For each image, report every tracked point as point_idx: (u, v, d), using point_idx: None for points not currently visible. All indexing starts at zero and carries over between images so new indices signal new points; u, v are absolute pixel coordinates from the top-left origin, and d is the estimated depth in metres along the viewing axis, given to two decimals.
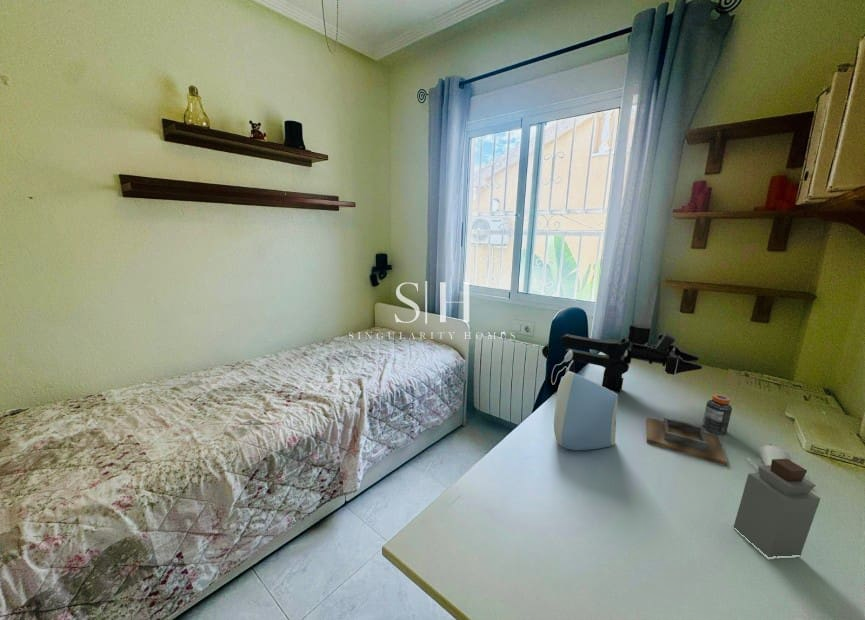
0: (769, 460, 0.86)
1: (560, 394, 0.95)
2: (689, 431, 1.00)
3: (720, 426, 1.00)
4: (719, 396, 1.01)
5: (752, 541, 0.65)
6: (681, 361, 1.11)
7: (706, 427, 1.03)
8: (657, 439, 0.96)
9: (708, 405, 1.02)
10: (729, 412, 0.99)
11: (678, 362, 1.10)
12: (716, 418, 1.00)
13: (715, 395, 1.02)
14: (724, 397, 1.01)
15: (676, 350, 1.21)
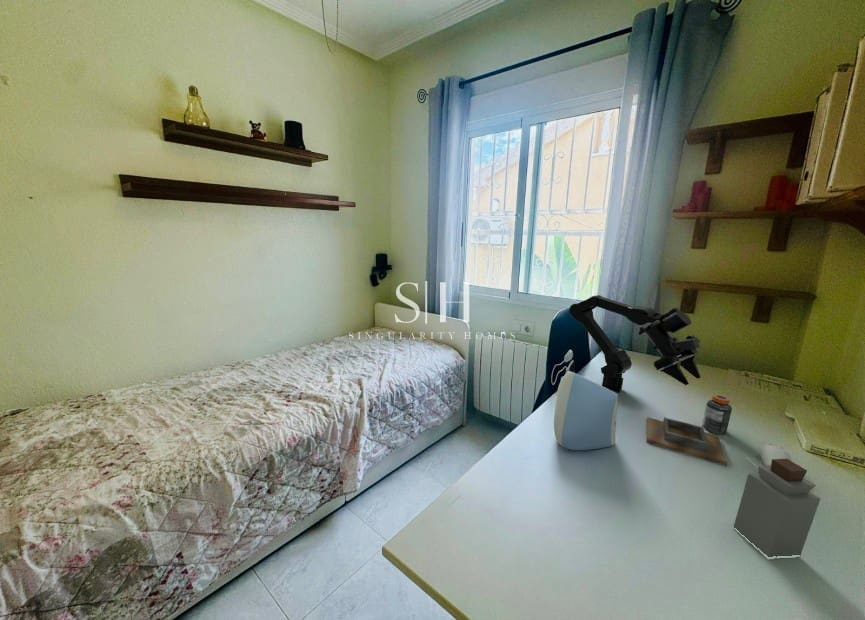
0: (769, 460, 0.86)
1: (560, 394, 0.95)
2: (689, 431, 1.00)
3: (720, 426, 1.00)
4: (719, 396, 1.01)
5: (752, 541, 0.65)
6: (676, 367, 1.05)
7: (706, 427, 1.03)
8: (657, 439, 0.96)
9: (708, 405, 1.02)
10: (729, 412, 0.99)
11: (671, 365, 1.04)
12: (716, 418, 1.00)
13: (715, 395, 1.02)
14: (724, 397, 1.01)
15: (690, 358, 1.11)
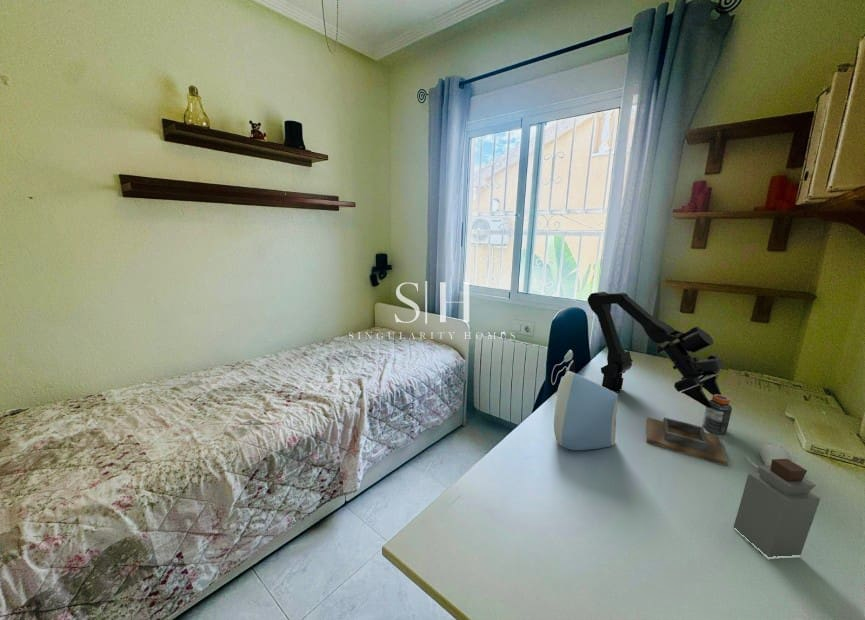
0: (769, 459, 0.86)
1: (560, 394, 0.95)
2: (689, 431, 1.00)
3: (720, 426, 1.00)
4: (719, 396, 1.01)
5: (752, 541, 0.65)
6: (698, 389, 1.00)
7: (706, 427, 1.03)
8: (657, 439, 0.96)
9: None
10: (729, 412, 0.99)
11: (693, 387, 1.00)
12: (716, 418, 1.00)
13: (715, 395, 1.02)
14: (724, 397, 1.01)
15: (712, 378, 1.07)
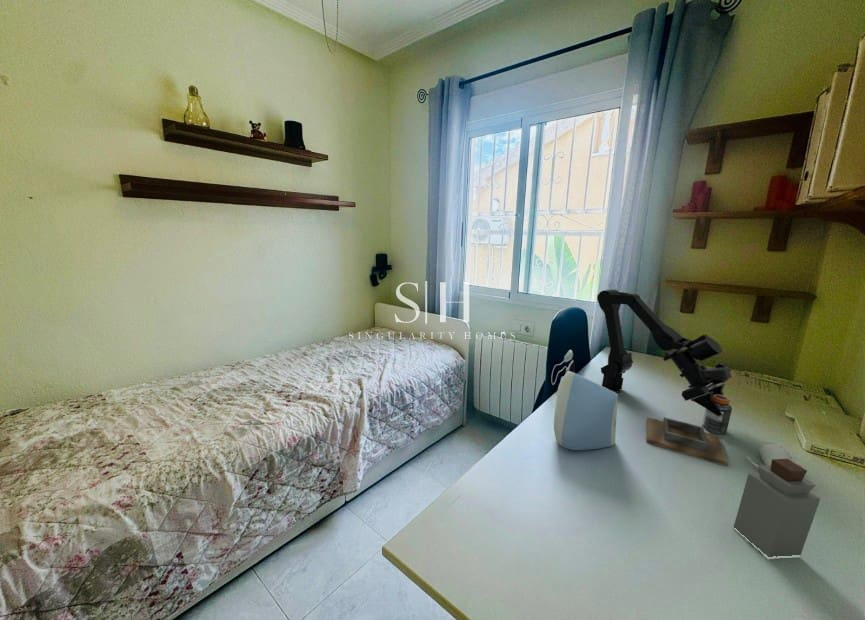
0: (769, 459, 0.86)
1: (560, 394, 0.95)
2: (689, 431, 1.00)
3: (720, 426, 1.00)
4: (719, 396, 1.01)
5: (752, 541, 0.65)
6: (708, 397, 1.00)
7: (706, 427, 1.03)
8: (657, 439, 0.96)
9: None
10: (729, 412, 0.99)
11: (704, 395, 0.99)
12: (716, 418, 1.00)
13: (715, 395, 1.02)
14: (724, 397, 1.01)
15: (718, 388, 1.04)
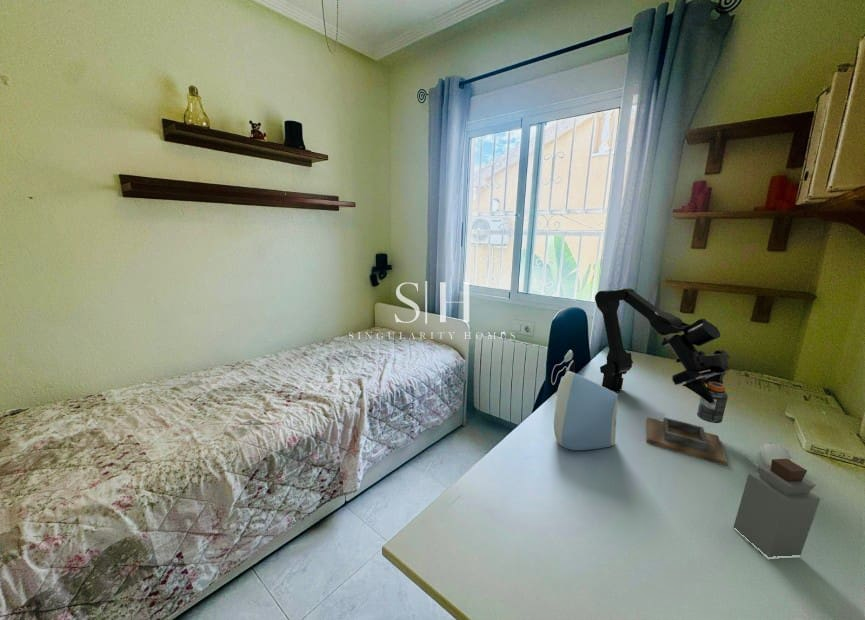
0: (769, 458, 0.87)
1: (560, 394, 0.95)
2: (689, 431, 1.00)
3: (713, 415, 0.96)
4: (714, 383, 0.97)
5: (752, 541, 0.65)
6: (699, 382, 0.96)
7: (699, 415, 0.99)
8: (657, 439, 0.96)
9: None
10: (723, 400, 0.95)
11: (694, 380, 0.96)
12: (709, 406, 0.96)
13: (711, 382, 0.98)
14: (720, 385, 0.96)
15: (717, 375, 1.00)
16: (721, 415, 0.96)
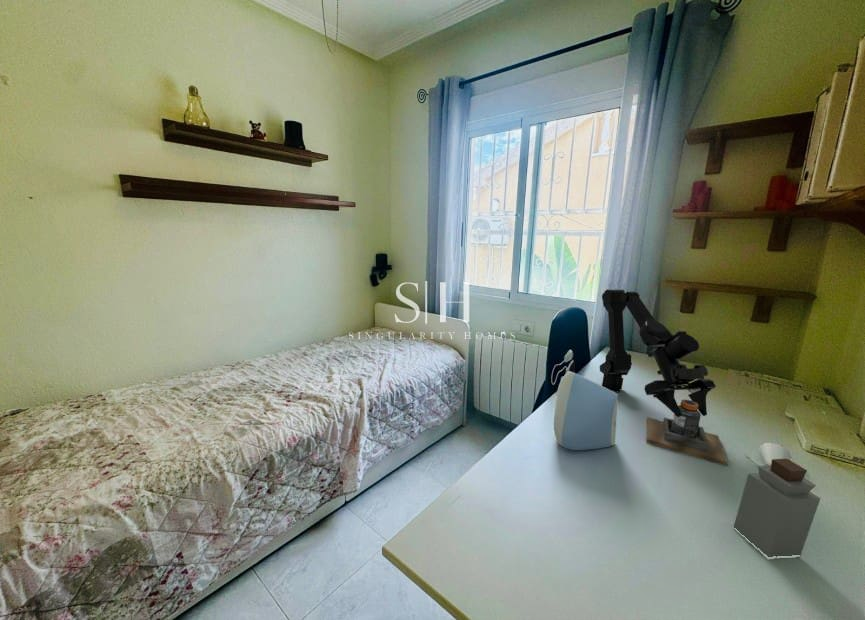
0: (769, 457, 0.87)
1: (560, 394, 0.95)
2: None
3: (682, 432, 0.95)
4: (688, 401, 0.95)
5: (752, 541, 0.65)
6: (667, 395, 0.95)
7: (671, 431, 0.98)
8: (657, 439, 0.96)
9: None
10: (693, 419, 0.93)
11: (661, 392, 0.96)
12: (678, 423, 0.95)
13: (685, 400, 0.96)
14: (693, 403, 0.94)
15: (700, 391, 0.97)
16: (691, 434, 0.94)
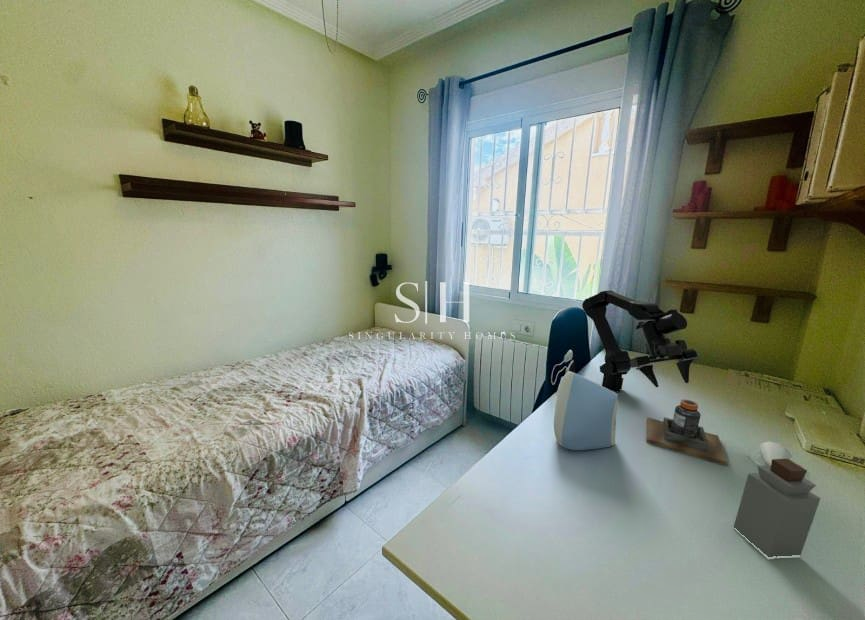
0: (769, 456, 0.87)
1: (560, 394, 0.95)
2: None
3: (682, 432, 0.95)
4: (688, 401, 0.95)
5: (752, 541, 0.65)
6: (646, 369, 1.07)
7: (671, 432, 0.98)
8: (657, 439, 0.96)
9: (675, 409, 0.97)
10: (693, 419, 0.93)
11: (641, 367, 1.07)
12: (678, 423, 0.95)
13: (685, 400, 0.96)
14: (692, 403, 0.94)
15: (684, 361, 1.06)
16: (691, 434, 0.94)
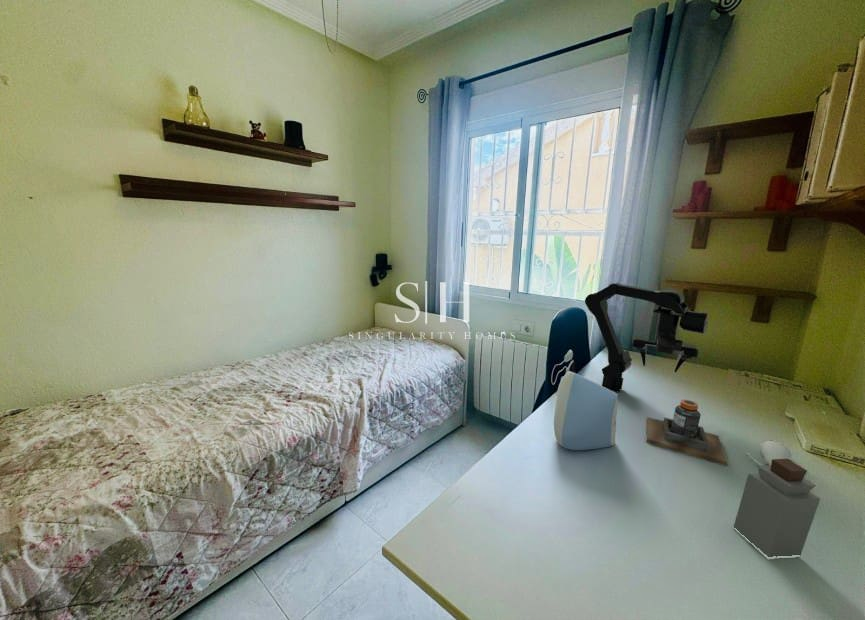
0: (769, 455, 0.88)
1: (560, 394, 0.95)
2: None
3: (682, 432, 0.95)
4: (688, 401, 0.95)
5: (752, 541, 0.65)
6: None
7: (671, 432, 0.98)
8: (657, 439, 0.96)
9: (675, 409, 0.97)
10: (693, 419, 0.93)
11: (636, 347, 1.19)
12: (678, 423, 0.95)
13: (685, 400, 0.96)
14: (692, 403, 0.94)
15: (680, 355, 1.12)
16: (691, 434, 0.94)
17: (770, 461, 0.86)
